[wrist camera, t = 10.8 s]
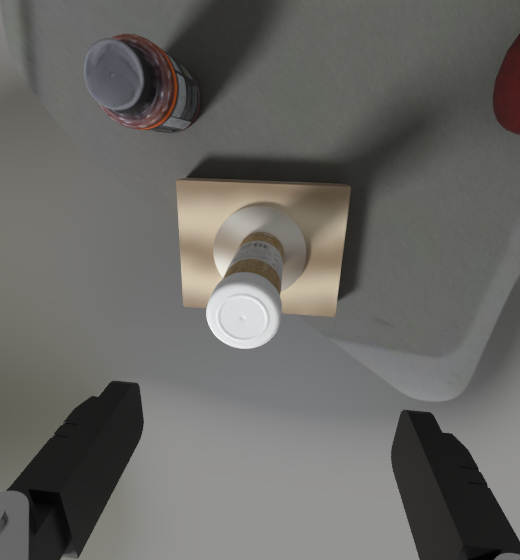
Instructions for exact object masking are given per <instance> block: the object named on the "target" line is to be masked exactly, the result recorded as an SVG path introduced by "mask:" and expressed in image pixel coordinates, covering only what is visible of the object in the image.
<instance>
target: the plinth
mask: <svg viewBox="0 0 520 560" xmlns="http://www.w3.org/2000/svg"><path fill="white" fill-rule="evenodd" d="M176 186H177V203H178V221H179V238H180V253H181V273H182V290H183V306H184V307H198V308H207V304H208V301H209V299H210V297H211V295H212V293H213V291H214V289H215V287H216V286H217V284H218V283H219V282H220V281H221V280H222V279H223V278H224V276H225V273H226V271H227V268H228V266H229V265H230V263H231V261H232V259H233V257H234V256H235V254H236V252H237V250H238V247H239V245H240V243H241V242H242V240H243V239H244V238H246V237H247V236H248V235H249V234H252V233H255V232H266V233H270V234H272V235H273V236H275V237H276V238H277V239H278V240H279V241H280V242H281V244H282V245H283V249H284V260H283V273H282V285H281V293H280V298H281V302H282V313H285V314H286V313H287V314H300V315H314V316H329V317H335V313H336V305H337V297H338V289H339V281H340V273H341V265H342V257H343V249H344V241H345V233H346V225H347V217H348V209H349V201H350V192H351V187H350V186H349V185H347V184H336V183H310V182H285V181H259V180H234V179H209V178H182V179H178V180H176Z"/></svg>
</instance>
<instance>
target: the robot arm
mask: <svg viewBox="0 0 520 560" xmlns="http://www.w3.org/2000/svg"><path fill="white" fill-rule="evenodd" d="M143 424H144V420H143V411H142V404H141V395H140V388H139V385H138V384H137V383H133V382H122V381H112V382H110V383H109V385H108V386H107V387H106V388H105V390H104V391H103V392H102V393H101V395H100V396H99V397H95V396H92V397H90V398H89V399H87V400H86V401H85V402H83V403H82V404H80V405H79V406H77V407H76V408H75V409H74V410H73V411H72V413H71V414H70V415H69V416H68V417H67V419H66V420H65V421H64V422H63V425H62V426H60V427H59V428H58V429H57V431H56V432H55V433H54V434H53V438H50V439H49V440H48V442H47V443H46V444H45V445H44V446H43V448H42V449H41V450H40V451H39V453H38V454H37V455H36V456H35V457H34V458H33V460H32V461H31V462H30V463H29V465H28V466H27V467H26V468H25V469H24V471H23V472H22V473H21V474H20V476H19V477H18V478H17V479H16V480H15V481H14V483H13V484H12V485H11V486H10V487H9V488H8V489H7V491H4V492H0V560H60V559H61V557H70V558H77V559H78V558H79V556H80V554H81V552H82V550H83V548H84V546H85V544H86V542H87V540H88V539H89V537H90V535H91V533H92V531H93V529H94V527H95V525H96V523H97V521H98V519H99V517H100V515H101V514H102V512H103V510H104V508H105V506H106V504H107V502H108V500H109V498H110V496H111V494H112V492H113V490H114V488H115V487H116V485H117V483H118V481H119V479H120V477H121V475H122V473H123V471H124V469H125V467H126V466H127V464H128V462H129V460H130V458H131V456H132V454H133V452H134V450H135V448H136V446H137V444H138V442H139V440H140V438H141V435H142V431H143ZM391 461H392V468H393V472H394V475H395V479H396V482H397V485H398V489H399V492H400V495H401V499H402V502H403V505H404V509H405V512H406V515H407V519H408V522H409V525H410V529H411V532H412V535H413V538H414V542H415V545H416V549H417V552H418V555H419V559H420V560H520V541H519V539H518V538H517V536H516V534H515V532H514V531H513V529H512V527H511V525H510V523H509V522H508V520H507V518H506V516H505V515H504V513H503V511H502V509H501V507H500V506H499V504H498V502H497V500H496V498H495V497H494V495H493V493H492V491H491V490H490V488H488V487H487V483H486V481H485V479H484V478H483V475H482V474H481V472H479V470H478V467H477V465H476V463H475V461H474V460H473V458H472V456H471V454H470V452H469V451H468V449H466V447H465V446H464V445H463V444H461V442H460V441H458V440H457V439H456V437H455V436H453V434H449V433H442V431H441V429H440V427H439V425H438V423H437V421H436V419H435V417H434V416H433V414H432V413H430V412H421V411H411V410H403V411H402V412H401V414H400V418H399V421H398V426H397V429H396V433H395V437H394V441H393V445H392V451H391Z"/></svg>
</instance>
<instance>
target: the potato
mask: <svg viewBox="0 0 520 560" xmlns="http://www.w3.org/2000/svg"><path fill="white" fill-rule="evenodd" d="M493 106H494V113H495V115H496V118H497V121H498V122H499V123H500V124H501V125H502V126H503V127H504V128H505V129H506V130H508V131H511V132H513V133H515V134H520V34H519V36H518V37H517V38H516V40H515V41H514V43H513V44H512V45H511V47H510V48H509V49H508V51H507V53H506V56H505V58H504V60H503V63H502V65H501V68H500V70H499V72H498V75H497V77H496V80H495V87H494V93H493Z"/></svg>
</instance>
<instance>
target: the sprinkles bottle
mask: <svg viewBox="0 0 520 560" xmlns="http://www.w3.org/2000/svg"><path fill="white" fill-rule="evenodd" d="M283 260H284V249H283V245H282V244H281V242H280V241H279V240H278V239H277V238H276V237H275V236H273V235H272V234H270V233H266V232H255V233H252V234H249V235H248V236H247V237H246V238H244V239H243V240H242V242H241V243H240V245H239V247H238V250H237V252H236V254H235V256H234V257H233V259H232V261H231V263H230V265H229V266H228V268H227V271H226V273H225V276H224V278H223V279H222V280H221V281H220V282H219V283H218V284H217V286H216V287H215V289H214V291H213V293H212V295H211V297H210V299H209V301H208V304H207V310H206V311H207V312H206V316H207V321H208V324H209V327H210V328H211V330H212V332H213V333H214V334H215V335H216V337H217V338H218V339H220V340H221V341H222V342H224V343H226V344H227V345H230V346H232V347H236V348H243V349H248V348H255V347H258V346H261V345H263V344H265V343H266V342H268V341H269V340H270V339H271V338H272V337H273V336H274V335H275V333H276V332H277V330H278V328H279V325H280V321H281V313H282V302H281V298H280V293H281V285H282V273H283Z"/></svg>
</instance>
